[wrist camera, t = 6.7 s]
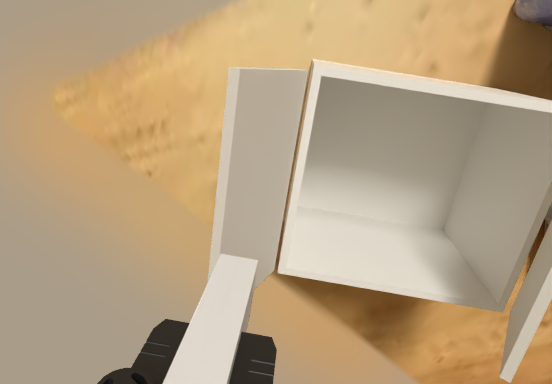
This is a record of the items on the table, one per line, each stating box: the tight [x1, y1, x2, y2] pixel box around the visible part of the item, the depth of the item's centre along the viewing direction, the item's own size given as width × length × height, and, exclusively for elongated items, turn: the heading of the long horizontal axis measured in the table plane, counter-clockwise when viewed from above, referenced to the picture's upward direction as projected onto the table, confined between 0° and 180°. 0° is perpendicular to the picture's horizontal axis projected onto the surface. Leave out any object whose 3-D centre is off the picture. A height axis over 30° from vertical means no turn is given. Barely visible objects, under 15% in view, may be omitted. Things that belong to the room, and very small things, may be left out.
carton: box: [278, 59, 552, 312], centre depth 34 cm, size 16×18×14 cm
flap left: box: [207, 67, 309, 290], centre depth 24 cm, size 15×8×1 cm
